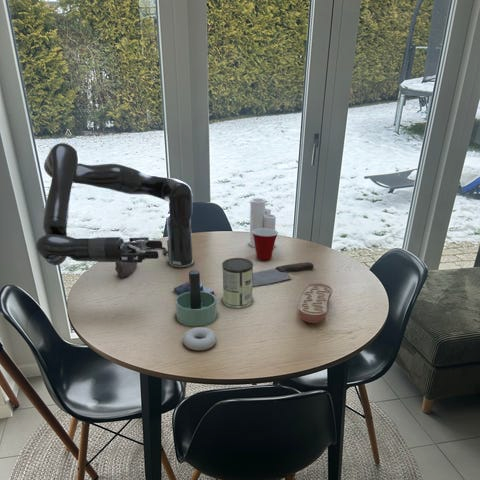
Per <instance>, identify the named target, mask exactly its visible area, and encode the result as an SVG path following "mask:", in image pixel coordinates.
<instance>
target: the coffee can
mask: <svg viewBox="0 0 480 480" xmlns="http://www.w3.org/2000/svg"><path fill="white" fill-rule="evenodd" d="M221 264H222V265H221V266H222V267H221V268H222V302H223V304H224V306H227V307H229V308H236V309H241V308H246V307H248V306H250V305H251V304H252V303H253V286H252V277H253V273H254V272H253V271H254V270H253V268H254V262H253V261H252V260H251V259H248V258H245V257H244V258H243V257H232V258H227V259H225V260H223V262H222V263H221Z"/></svg>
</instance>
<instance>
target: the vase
mask: <svg viewBox="0 0 480 480" xmlns="http://www.w3.org/2000/svg"><path fill="white" fill-rule="evenodd" d="M249 201H250V203H249V206H250V208H249V246H250V247H253V248H255V242H254V236H253V233H252V230H254V229H259V228H267V229H273V230H276V219H277V217H276V215H275V214H271V212H272V209H271V208H266V199H265V198H262V197H253V198H250V199H249Z"/></svg>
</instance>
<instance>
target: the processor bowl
mask: <svg viewBox="0 0 480 480" xmlns="http://www.w3.org/2000/svg"><path fill="white" fill-rule="evenodd" d="M200 293H201V303H203V304H202V305H201V309H187V308H185V307H189V308H191V306H190V292H186V293H183V294H181V295H179V294H178V295H177V296H176V298H175V300H174V301H175V312H176V314H175V315H176V320H177V322H179V323H180V324H182V325H184V326H187V327H188V326H189V327H203V326H206V325H210V324H212V323H213V322H214V321H215V320H216V319H217V313H218V312H217V310H218V309H217V306H218V305H217V298H216V296H215V294H214V295H213V294H211V293H208V292H204V291H200Z"/></svg>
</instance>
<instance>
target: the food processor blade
mask: <svg viewBox="0 0 480 480" xmlns="http://www.w3.org/2000/svg"><path fill="white" fill-rule="evenodd" d="M200 273H201V272H200V270H198V269H191V270H189V271H188V281H189V288H190V306H191V308H189V307H185V308H187V309H201V305H202V304H203V303H201V293H200V282H201V274H200Z"/></svg>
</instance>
